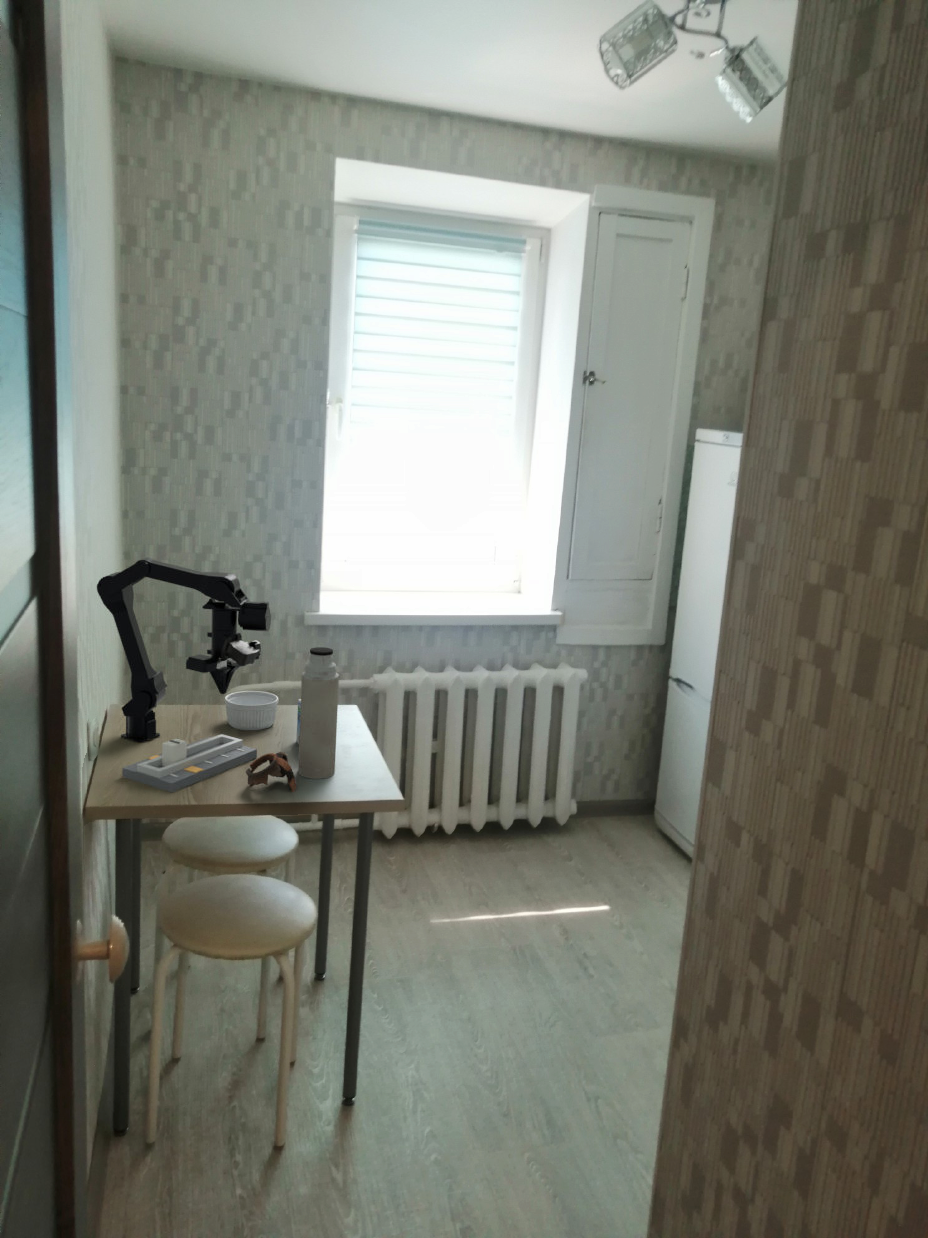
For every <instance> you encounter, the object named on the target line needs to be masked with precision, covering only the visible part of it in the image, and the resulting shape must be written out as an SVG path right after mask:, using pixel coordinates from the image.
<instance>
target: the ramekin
mask: <svg viewBox="0 0 928 1238" xmlns="http://www.w3.org/2000/svg"><path fill="white" fill-rule="evenodd" d="M224 704H225V711H226V720H227V723H228V724H229V725H230V727H232V728H233V729H238V730H242V731H258V730H259V731H260V730H264V729H267V728H270V727H271V726H272V725H274V723H275V721H276V715H277V710H278V705H279V697H278V696H277V695H276V694H274V693H271V692H267V691H258V690H245V691H244V690H243V691H236V692H232V693H229V694H227V695H226V696H225V697H224Z"/></svg>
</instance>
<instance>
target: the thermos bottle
mask: <svg viewBox="0 0 928 1238" xmlns="http://www.w3.org/2000/svg"><path fill="white" fill-rule="evenodd" d="M309 653H310V655H309V661H307V662H306V663H305V664H304V665H305V666H304V671H303V672H302V673H301V684H300V685H301V686H300V688H301V689H300V690H301V694H300V699H301V707H300V735H299V743H298V763H297V764H298V766H297V769H298V770H297V772H298V774H299V775H300V776H301V777H304V778H307V779H315V780H316V779H326V778H329V777H332V776H334V774H335V772H336V754H337V753H336V749H337V732H338V731H337V729H338V728H337V726H338V708H339V707H338V706H339V684H340V681H339V680H340V674H339V673H337V669H338V667H337V664H336V663H335V662H333V654H334V649H332V648H329V647H325V646H324V647H323V646H319V647H318V646H317V647H311V648H310V649H309Z"/></svg>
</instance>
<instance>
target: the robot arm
mask: <svg viewBox="0 0 928 1238" xmlns="http://www.w3.org/2000/svg"><path fill="white" fill-rule="evenodd" d="M145 578H149V579H152V580H156V581H160V582H164V583H168V584H172V585H176V586H181V587H185V588H189V589H192V590H195V591H197V592H199V593H200V594H203V595H204V596H206V597H208V598H209V599H208V601H207V602H206V603H205V604H204V605H202V609H203V610H211V627H210V628H211V630H210V631H207V633H206V637H209V638H210V640H211V641H210V642H211V643H210V648H208V649H207V650H206V654H207V655H204V654H202V653H200V654H195V655H191V656H188V657H187V658H186V659H185V669H186V670H189V671H194V672H198V673H202V674H206V673H209V674H210V676H211V677H212V679H213V681H214V683H215V685H216V688H217V690H218V692H219V694H221V695H225V694H227V692H228V689H229V686H230V682H231V680H232V678H233V676H234V673H235V672H236V671H237V670H238V669H239V668H241V667H246V666H247V665H253V664H254V663H255V661H256V660H259V659H260V656H261V651H262V648H261V642H259V641H258V640H256V639H255V640H253V641H243V640H242V638H243V637H242V634H241V632H238V626H239V627H240V628H242V630H243V631H256V632H257V631H258V632H270V628H271V623H272V614H271V609H270V602H269V601H250V599H249V598H248V596H247V595H246V593H245V592H244V591H243V589H242V588H241V584H240V580H239V579H238V576H236V574H233V573H230V572H220V571H213V572H212V571H211V572H210V571H198V570H195V569H191V568H186V567H184V566H183V567H182V566H180V565H175V564H170V563H167V562H163V561H158V560H155V559H152V558H150V557H145V558H141V559H139V560H137V561H136V562H135V563H134V564H132V565H131V566H128V567H126V568H125V569H123V570H122V571H118V572H117V571H115V572H113V573H110V574H109V575H105V576H103V577H101V578H100V579H99V581H98V583H97V584H96V592H97V594H98V596H99V598H100V600H101V602H102V604H103V605H104V607H105V608H106V609H107V610H108V611H109V612H110V614H111V615H112V617H113V620H114V623H115V627H116V630H117V633H118V636H119V639H120V642H121V645H122V648H123V651H124V654H125V658H126V660H127V664H128V667H129V670H130V673H131V674H130V675H131V677H130V693H131V699H130V700H129V701H128V702H126V703H125V704H124V705H123V706H122V707H121V710H122V714H123V716H124V717H125V733H122V734H120V738H123V739H127V740H130V741H133V742H136V743H142V742H145V741H146V742H147V741H150V740H152V739H155V738H158V737H160V736H161V733H160V732H157V719H156V712H154V709H156V708H157V705H158V704H159V703H160V702H161V701H162V700H164V698H165V696H166V693H167V692H166V691H167V690H166V688H168V685H167V683H166V682H165V679H164V673H163V671H162V670H160V671H157V672H156V670H155V669H154V668H153V667H152V665H151V662H150V659H149V655H148V653H147V649H146V646H145V644H144V640H143V637H142V634H141V630H140V627H139V623H138V621H137V617H136V613H135V610H134V598H135V597H134V595H135V594H134V587H133V586H134V585H136V584H137V583H139V582H141V581H142V580H144V579H145ZM209 655H210V656H209Z"/></svg>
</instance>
